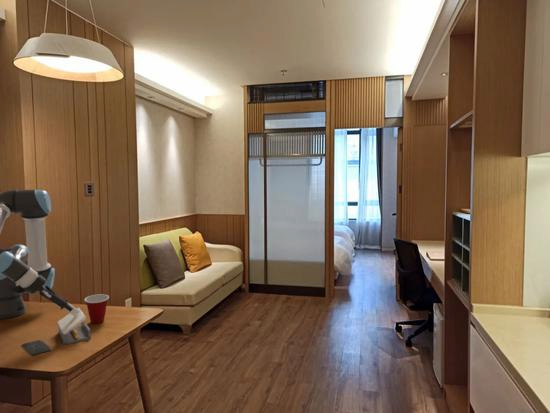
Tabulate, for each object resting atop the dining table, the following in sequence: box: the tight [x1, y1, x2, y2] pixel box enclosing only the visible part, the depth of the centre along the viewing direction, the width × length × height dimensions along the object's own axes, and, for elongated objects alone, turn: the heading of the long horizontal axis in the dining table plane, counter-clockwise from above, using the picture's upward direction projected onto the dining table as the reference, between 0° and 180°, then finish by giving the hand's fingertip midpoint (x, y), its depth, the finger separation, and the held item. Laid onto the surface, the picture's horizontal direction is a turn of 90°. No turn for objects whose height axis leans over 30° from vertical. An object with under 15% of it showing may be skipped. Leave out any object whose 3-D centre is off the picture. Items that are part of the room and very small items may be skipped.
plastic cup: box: [84, 293, 110, 325], centre depth 180 cm, size 11×11×12 cm
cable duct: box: [57, 320, 92, 345], centre depth 163 cm, size 16×10×4 cm, turn 37°
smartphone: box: [21, 339, 53, 357], centre depth 151 cm, size 7×1×15 cm
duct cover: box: [57, 307, 87, 334], centre depth 162 cm, size 16×10×1 cm, turn 37°
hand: (77, 313), depth 163 cm, fingers closed
